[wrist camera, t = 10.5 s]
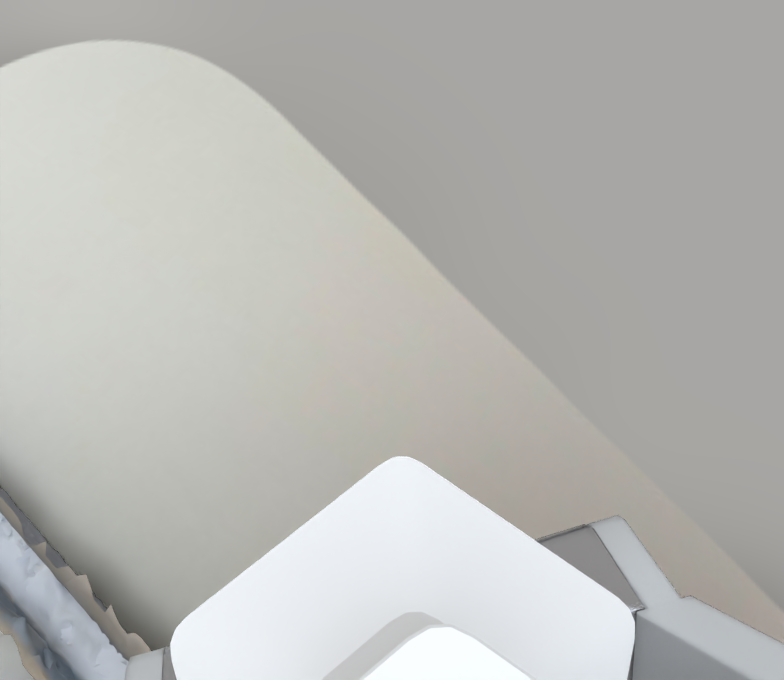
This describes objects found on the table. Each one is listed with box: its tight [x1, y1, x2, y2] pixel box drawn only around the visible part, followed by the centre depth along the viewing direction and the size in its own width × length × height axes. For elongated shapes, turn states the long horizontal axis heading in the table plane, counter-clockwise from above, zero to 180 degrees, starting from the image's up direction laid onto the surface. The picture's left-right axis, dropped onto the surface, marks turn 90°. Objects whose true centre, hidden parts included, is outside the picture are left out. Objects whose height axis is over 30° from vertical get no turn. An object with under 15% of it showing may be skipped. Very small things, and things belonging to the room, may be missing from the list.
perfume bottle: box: [170, 456, 635, 680], centre depth 11 cm, size 5×4×15 cm
